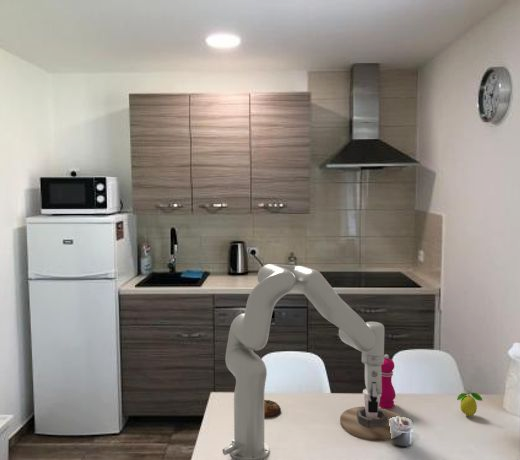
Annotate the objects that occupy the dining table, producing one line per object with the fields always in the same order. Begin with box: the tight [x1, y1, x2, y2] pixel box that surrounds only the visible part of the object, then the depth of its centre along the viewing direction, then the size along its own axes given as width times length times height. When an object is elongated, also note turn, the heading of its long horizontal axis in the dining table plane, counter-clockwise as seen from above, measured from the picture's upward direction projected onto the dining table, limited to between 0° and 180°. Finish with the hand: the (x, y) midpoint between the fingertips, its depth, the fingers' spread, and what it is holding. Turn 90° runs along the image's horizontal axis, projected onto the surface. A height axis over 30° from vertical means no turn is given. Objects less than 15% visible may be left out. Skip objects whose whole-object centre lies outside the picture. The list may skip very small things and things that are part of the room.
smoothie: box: [362, 388, 381, 419], centre depth 170 cm, size 6×6×14 cm
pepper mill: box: [379, 353, 396, 410], centre depth 185 cm, size 7×7×20 cm
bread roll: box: [264, 399, 282, 418], centre depth 181 cm, size 11×11×5 cm
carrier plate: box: [339, 406, 399, 441], centre depth 171 cm, size 22×22×4 cm
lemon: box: [456, 391, 483, 417], centre depth 177 cm, size 7×6×10 cm
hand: (371, 407), depth 170 cm, fingers closed on smoothie, 5 cm apart
